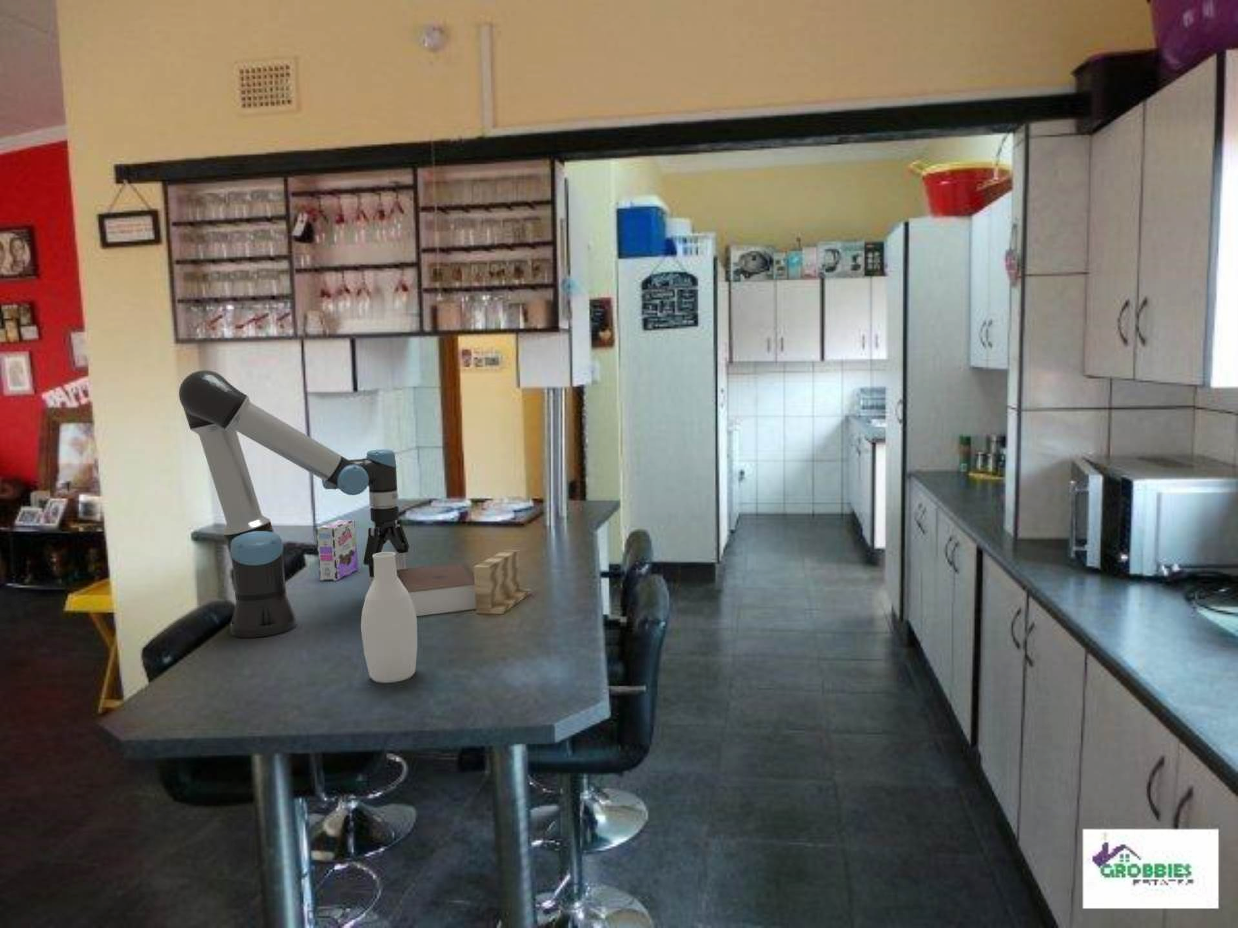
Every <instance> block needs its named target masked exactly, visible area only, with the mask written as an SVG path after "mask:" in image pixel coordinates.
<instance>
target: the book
mask: <svg viewBox="0 0 1238 928" xmlns="http://www.w3.org/2000/svg"><path fill="white" fill-rule="evenodd" d="M397 576H398V578H399V579H400V581H401V582H402V584H403V585H404V587H405V588H406V590H407V591H408V593H409V595H410V598H411V600H412V603H413V605H414V609H415V613H416V617H421V616H427V615H435V614H437V615H438V614H445V613H451V612H452V613H453V612H459V611H467V610H474V609H475V610H476V598H475V582H474V570H472V568H471V567H470V565H468V564H467V562H458V563H456V562H454V563H446V564H439V565H429V566H420V567H409V568H406V569H401V570H397Z"/></svg>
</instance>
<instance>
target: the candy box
mask: <svg viewBox="0 0 1238 928" xmlns="http://www.w3.org/2000/svg"><path fill="white" fill-rule="evenodd" d="M315 530H316V531H315V533H316V545H317V557H318V558H317V559H318V571H319V581H323V582H325V581H328V582H329V581H330V582H336V581H337V582H338V581H339V580H342V579H344V578H345V577H348V576H349V575H352V574H354V573H356V572H358V571H359V560H358V550H357V549H358V548H357V547H358V546H357V538H356V536H357V535H356V524H355V520H354V519H337V520H336V521H333V522H330V523H326V524H324V525H321V526H319V527H318V526H317V527H316V528H315Z"/></svg>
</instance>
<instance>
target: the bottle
mask: <svg viewBox="0 0 1238 928" xmlns="http://www.w3.org/2000/svg"><path fill="white" fill-rule="evenodd" d="M395 553H396V552H394V551H381V553H376V554H374V555H373V559H374V580H373V582H372V584H371V586H370V585H369V588H368V590H367V592H366V594H365V597H364V602H363V607H362V610H361V621H360V631H361V638H362V639H361V640H362V647H363V654H364V657H365V661H366V666H367V671H368V675H369V678H370V679H372V681H374V682H376V683H382V684H384V683H385V684H386V683H388V684H389V683H397V682H403V681H405V680H408V679H410V678H411V677H412V676H414V674H415V673H416V665H417V656H418V619H417V616H416V613H415V609H414V605H413V603H412V600H411V598H410V595H409V593H408V591H407V590H406V588H405V587H404V585H403V584H402V582H401V581H400V579H399V578H398V576H397V570H396V562H395V556H396V554H395Z"/></svg>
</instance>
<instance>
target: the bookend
mask: <svg viewBox="0 0 1238 928" xmlns="http://www.w3.org/2000/svg"><path fill="white" fill-rule="evenodd" d="M519 556H520V555H519V550H518V549H516V550H515V549H504V550H502V551H500V552H498V553H497V554H494V555H492V556H491V557H489V558H487V559H485V560H483V561H482V562H479V563H478V564H476V565H475V566H473V573H474V582H475V598H476V609H475V610H476V614H486V615H488V614H490V615H503V614H505V613H506V612H507V611H509V610H510V609H512V608H513V607H514V606H515V605H517V604H518V603H520V602H521V601H522V600H524V599H526V597H529V595H531V591H532V590H531V588H521V575H520V560H519V559H520V557H519Z"/></svg>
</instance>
